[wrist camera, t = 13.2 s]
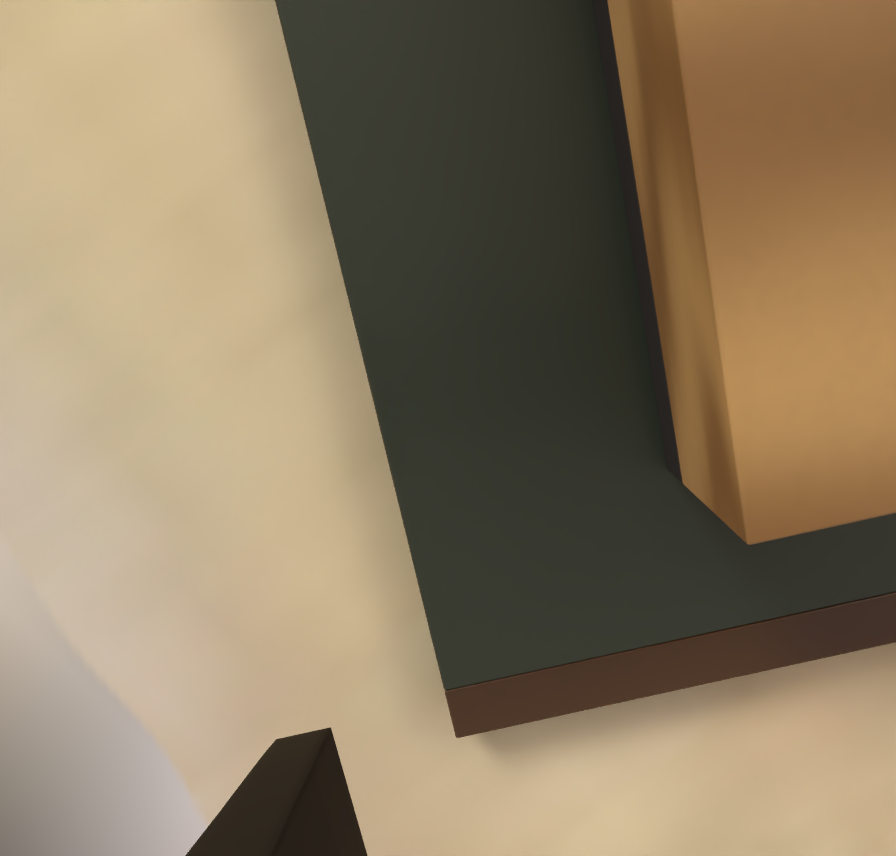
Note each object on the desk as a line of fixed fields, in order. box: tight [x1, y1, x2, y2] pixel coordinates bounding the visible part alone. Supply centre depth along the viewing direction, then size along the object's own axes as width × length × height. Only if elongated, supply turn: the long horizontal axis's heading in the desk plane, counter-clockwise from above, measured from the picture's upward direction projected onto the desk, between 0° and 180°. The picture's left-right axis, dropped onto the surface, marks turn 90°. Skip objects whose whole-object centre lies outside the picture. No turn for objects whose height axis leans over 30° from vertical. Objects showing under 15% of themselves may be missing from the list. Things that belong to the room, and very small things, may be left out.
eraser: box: [592, 0, 896, 545], centre depth 13 cm, size 12×5×4 cm, turn 12°
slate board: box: [275, 0, 896, 738], centre depth 16 cm, size 22×18×1 cm
